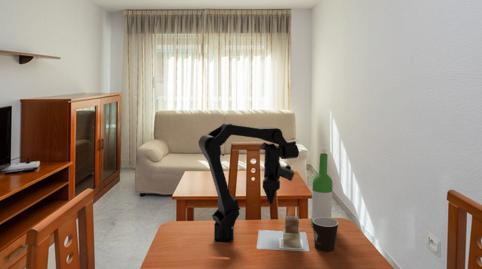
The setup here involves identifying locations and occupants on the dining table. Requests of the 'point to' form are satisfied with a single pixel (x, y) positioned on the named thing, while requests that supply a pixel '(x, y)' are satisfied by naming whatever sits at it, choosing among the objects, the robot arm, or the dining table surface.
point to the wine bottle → (322, 192)
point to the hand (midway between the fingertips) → (271, 200)
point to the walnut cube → (291, 224)
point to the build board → (279, 241)
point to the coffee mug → (325, 233)
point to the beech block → (291, 239)
